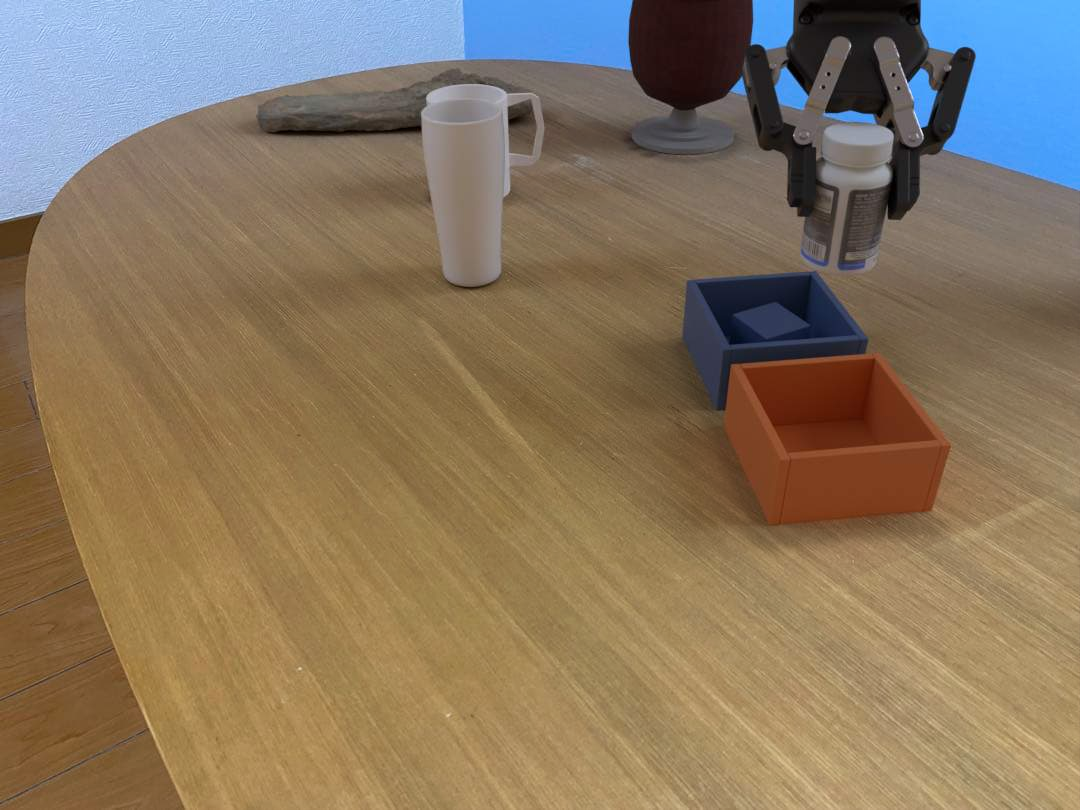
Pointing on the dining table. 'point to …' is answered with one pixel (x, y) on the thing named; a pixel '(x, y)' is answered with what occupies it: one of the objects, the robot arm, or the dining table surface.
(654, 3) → the mate gourd
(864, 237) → the pill bottle
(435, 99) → the cup
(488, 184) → the drinking glass
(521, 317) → the dining table surface
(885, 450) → the orange bin
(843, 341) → the blue bin
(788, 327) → the blue block
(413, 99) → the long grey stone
